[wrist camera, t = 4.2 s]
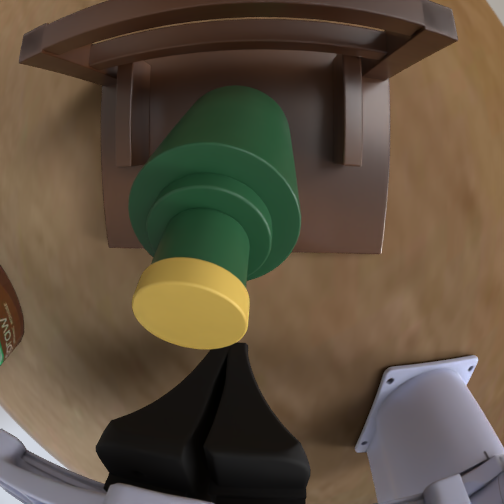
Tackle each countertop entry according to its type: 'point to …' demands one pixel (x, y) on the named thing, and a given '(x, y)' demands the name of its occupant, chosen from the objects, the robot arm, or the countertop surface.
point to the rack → (258, 77)
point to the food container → (9, 318)
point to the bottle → (214, 216)
